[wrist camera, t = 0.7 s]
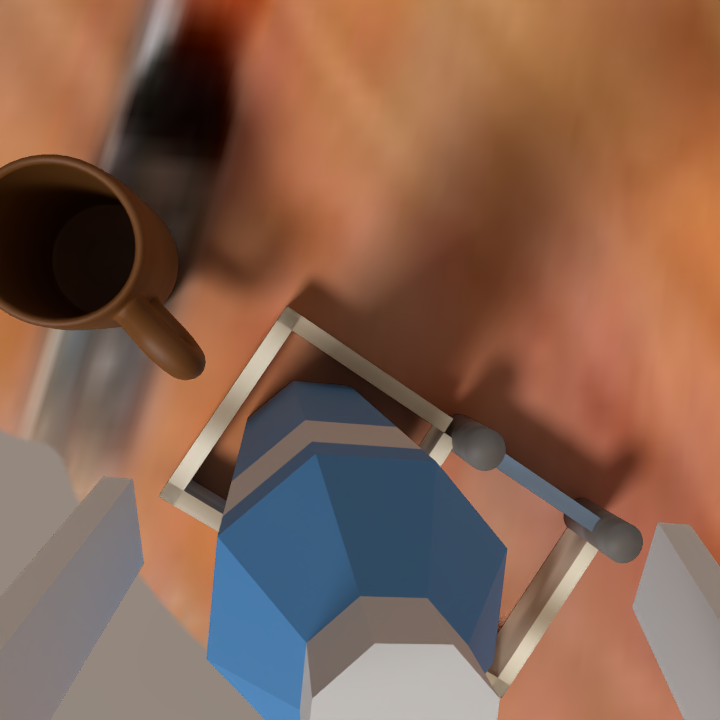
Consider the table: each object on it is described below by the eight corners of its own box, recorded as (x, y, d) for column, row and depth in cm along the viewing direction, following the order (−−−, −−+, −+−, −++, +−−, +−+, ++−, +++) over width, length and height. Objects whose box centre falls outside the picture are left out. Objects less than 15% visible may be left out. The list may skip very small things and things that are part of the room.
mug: (260, 321, 35) (255, 322, 26) (167, 407, 35) (128, 439, 25) (115, 169, 33) (54, 111, 24) (15, 257, 33) (-87, 233, 23)
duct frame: (292, 297, 35) (295, 294, 30) (602, 509, 39) (649, 536, 34) (166, 483, 35) (148, 511, 30) (492, 677, 39) (524, 729, 34)
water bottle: (212, 484, 35) (70, 870, 11) (283, 350, 35) (306, 425, 11) (344, 547, 37) (489, 1009, 12) (412, 418, 37) (693, 620, 12)
